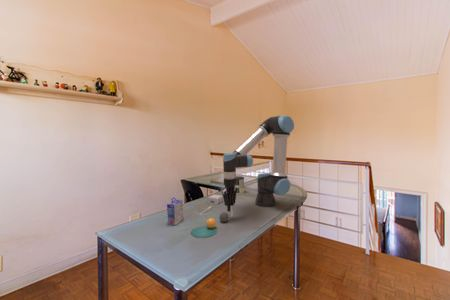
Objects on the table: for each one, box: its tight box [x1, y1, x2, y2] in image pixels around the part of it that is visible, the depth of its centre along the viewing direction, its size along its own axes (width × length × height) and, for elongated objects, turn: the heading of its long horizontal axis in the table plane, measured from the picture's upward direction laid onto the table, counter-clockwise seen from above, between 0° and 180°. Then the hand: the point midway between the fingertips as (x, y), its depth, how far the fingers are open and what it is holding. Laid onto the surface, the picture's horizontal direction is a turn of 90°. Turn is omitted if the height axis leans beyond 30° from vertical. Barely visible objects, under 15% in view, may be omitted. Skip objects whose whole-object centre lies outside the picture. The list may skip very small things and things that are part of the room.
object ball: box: [205, 217, 217, 229], centre depth 122 cm, size 6×6×6 cm
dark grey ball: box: [219, 211, 230, 223], centre depth 131 cm, size 6×6×6 cm
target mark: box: [190, 225, 218, 239], centre depth 118 cm, size 14×14×1 cm
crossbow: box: [195, 205, 213, 216], centre depth 151 cm, size 16×13×2 cm
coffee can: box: [235, 175, 245, 195], centre depth 198 cm, size 10×10×14 cm
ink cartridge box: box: [166, 197, 184, 226], centre depth 132 cm, size 10×6×14 cm, turn 161°
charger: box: [206, 194, 224, 205], centre depth 174 cm, size 5×9×15 cm
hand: (230, 215), depth 135 cm, fingers closed
